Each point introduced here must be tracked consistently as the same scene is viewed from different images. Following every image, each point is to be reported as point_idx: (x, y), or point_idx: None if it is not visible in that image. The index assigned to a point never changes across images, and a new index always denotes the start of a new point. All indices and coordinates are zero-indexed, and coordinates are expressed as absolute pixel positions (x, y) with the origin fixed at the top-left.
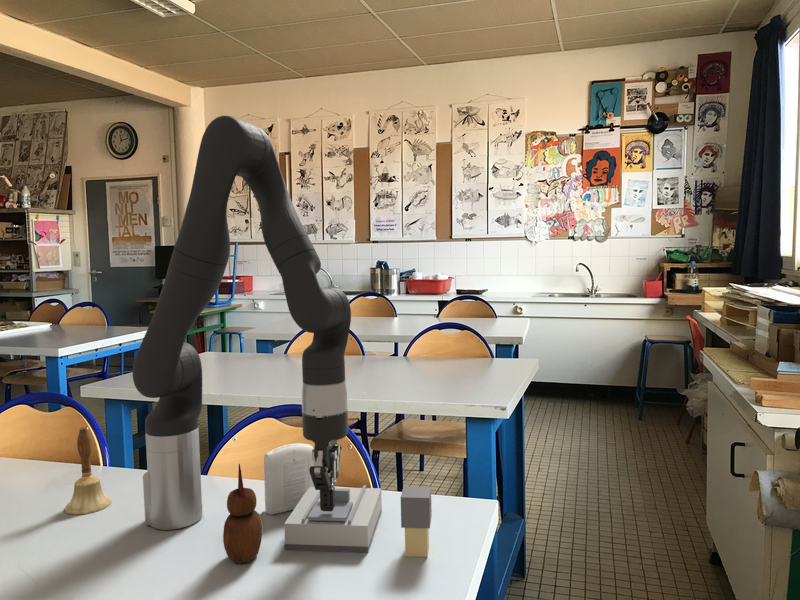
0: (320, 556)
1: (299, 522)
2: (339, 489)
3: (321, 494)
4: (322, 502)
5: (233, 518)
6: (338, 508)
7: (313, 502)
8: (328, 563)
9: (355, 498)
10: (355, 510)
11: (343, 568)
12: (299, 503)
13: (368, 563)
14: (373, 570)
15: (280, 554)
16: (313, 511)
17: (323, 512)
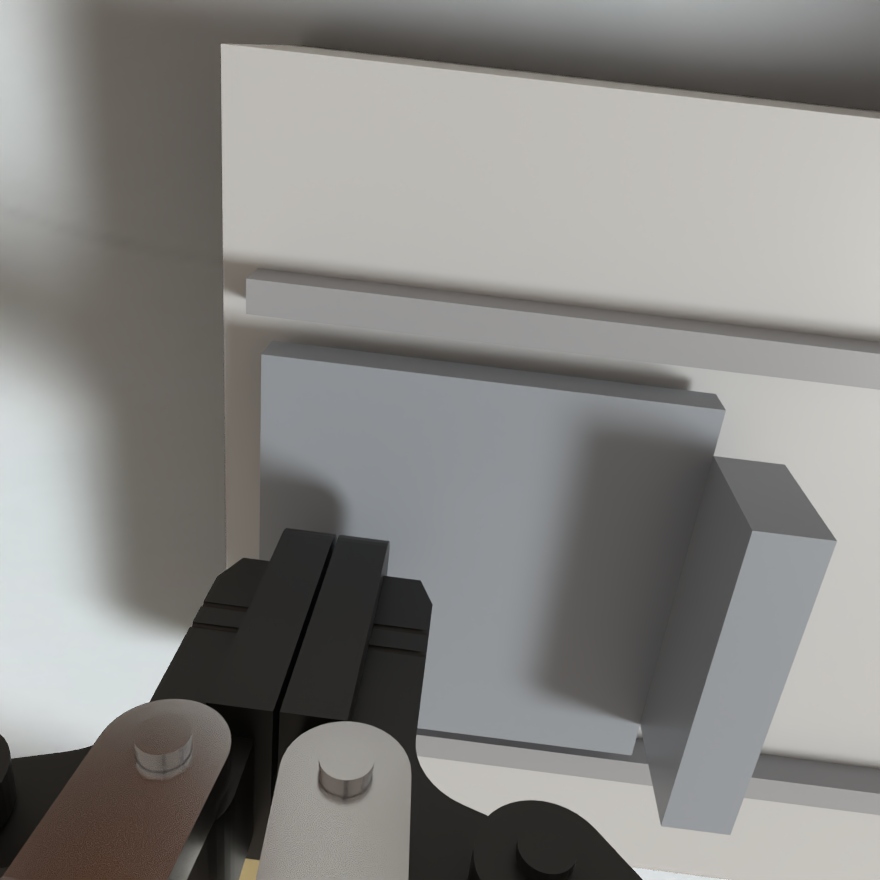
0: (208, 371)
1: (261, 238)
2: (733, 740)
3: (156, 689)
4: (200, 620)
5: None
6: (480, 643)
7: (742, 354)
8: (115, 436)
9: (839, 733)
10: (472, 760)
11: (66, 533)
12: (853, 139)
13: (148, 664)
14: (72, 688)
15: (213, 14)
16: (412, 401)
17: (381, 510)
